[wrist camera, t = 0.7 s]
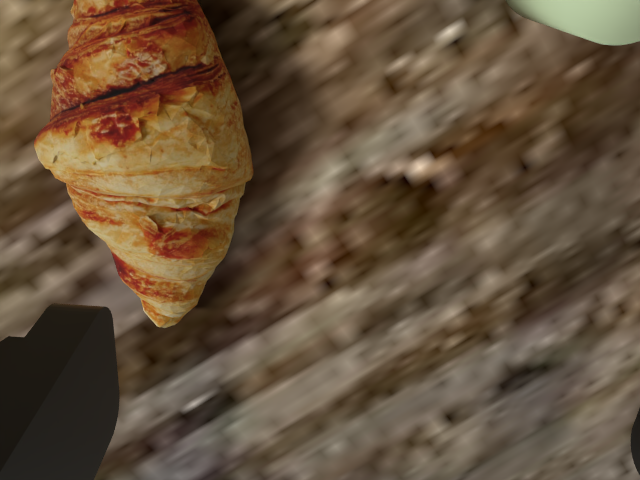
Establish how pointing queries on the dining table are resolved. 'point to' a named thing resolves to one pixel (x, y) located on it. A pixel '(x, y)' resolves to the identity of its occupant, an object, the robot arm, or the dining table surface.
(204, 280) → the croissant
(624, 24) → the pale green egg shape
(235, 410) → the dining table surface
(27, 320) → the dining table surface
